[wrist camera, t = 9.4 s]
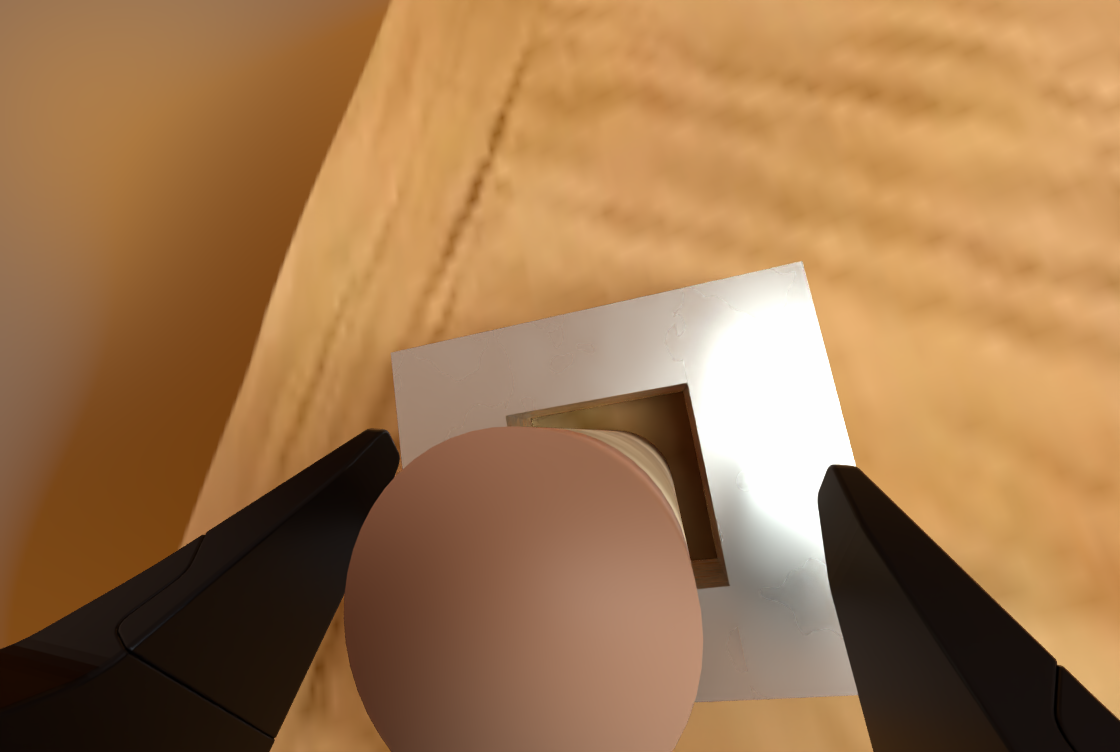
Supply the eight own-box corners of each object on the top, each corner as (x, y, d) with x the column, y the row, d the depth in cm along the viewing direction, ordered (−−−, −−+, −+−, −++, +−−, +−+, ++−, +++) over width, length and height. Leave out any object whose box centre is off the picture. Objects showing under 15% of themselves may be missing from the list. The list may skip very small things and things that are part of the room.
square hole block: (864, 640, 15) (914, 692, 12) (466, 666, 17) (427, 714, 14) (777, 291, 16) (802, 261, 14) (431, 364, 19) (390, 352, 16)
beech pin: (693, 509, 16) (788, 735, 4) (597, 557, 17) (428, 886, 5) (638, 411, 17) (579, 361, 5) (548, 461, 18) (297, 524, 5)
